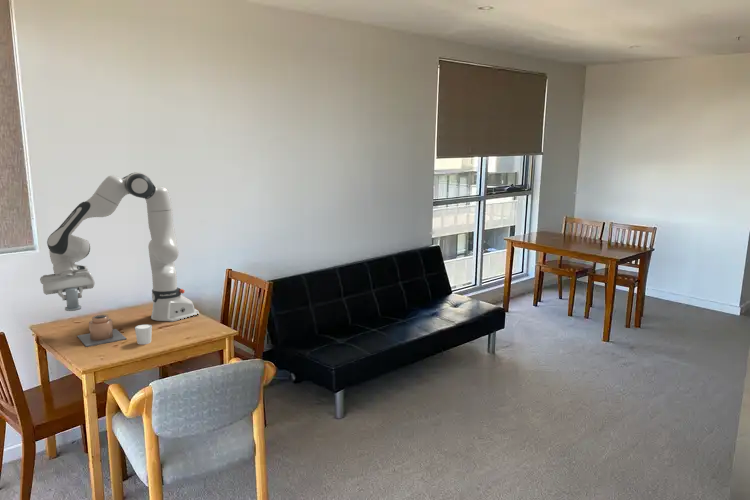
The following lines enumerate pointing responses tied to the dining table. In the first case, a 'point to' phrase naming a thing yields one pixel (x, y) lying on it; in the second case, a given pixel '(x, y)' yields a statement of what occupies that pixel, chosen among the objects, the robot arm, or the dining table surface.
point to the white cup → (143, 334)
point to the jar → (100, 332)
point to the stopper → (72, 300)
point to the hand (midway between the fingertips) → (72, 298)
